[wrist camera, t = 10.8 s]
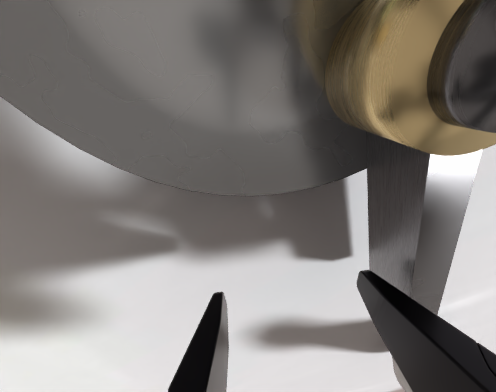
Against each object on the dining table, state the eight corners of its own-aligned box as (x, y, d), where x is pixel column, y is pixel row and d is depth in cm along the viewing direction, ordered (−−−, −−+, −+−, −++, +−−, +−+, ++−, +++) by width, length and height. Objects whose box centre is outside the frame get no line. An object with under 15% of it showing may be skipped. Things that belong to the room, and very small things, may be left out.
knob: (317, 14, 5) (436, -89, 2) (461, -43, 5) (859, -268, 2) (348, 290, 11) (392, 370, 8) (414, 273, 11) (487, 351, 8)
